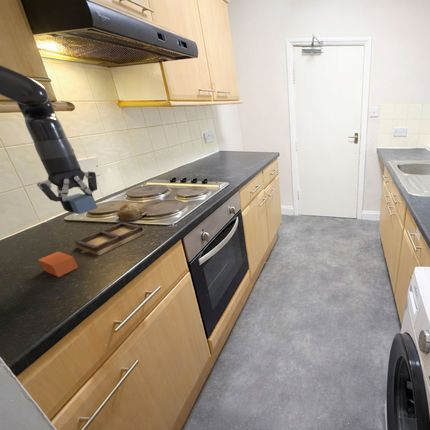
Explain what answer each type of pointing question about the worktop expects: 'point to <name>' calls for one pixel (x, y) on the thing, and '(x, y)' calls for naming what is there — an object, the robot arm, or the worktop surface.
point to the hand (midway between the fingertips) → (81, 208)
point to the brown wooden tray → (109, 238)
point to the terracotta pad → (58, 263)
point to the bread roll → (131, 211)
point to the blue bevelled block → (82, 203)
